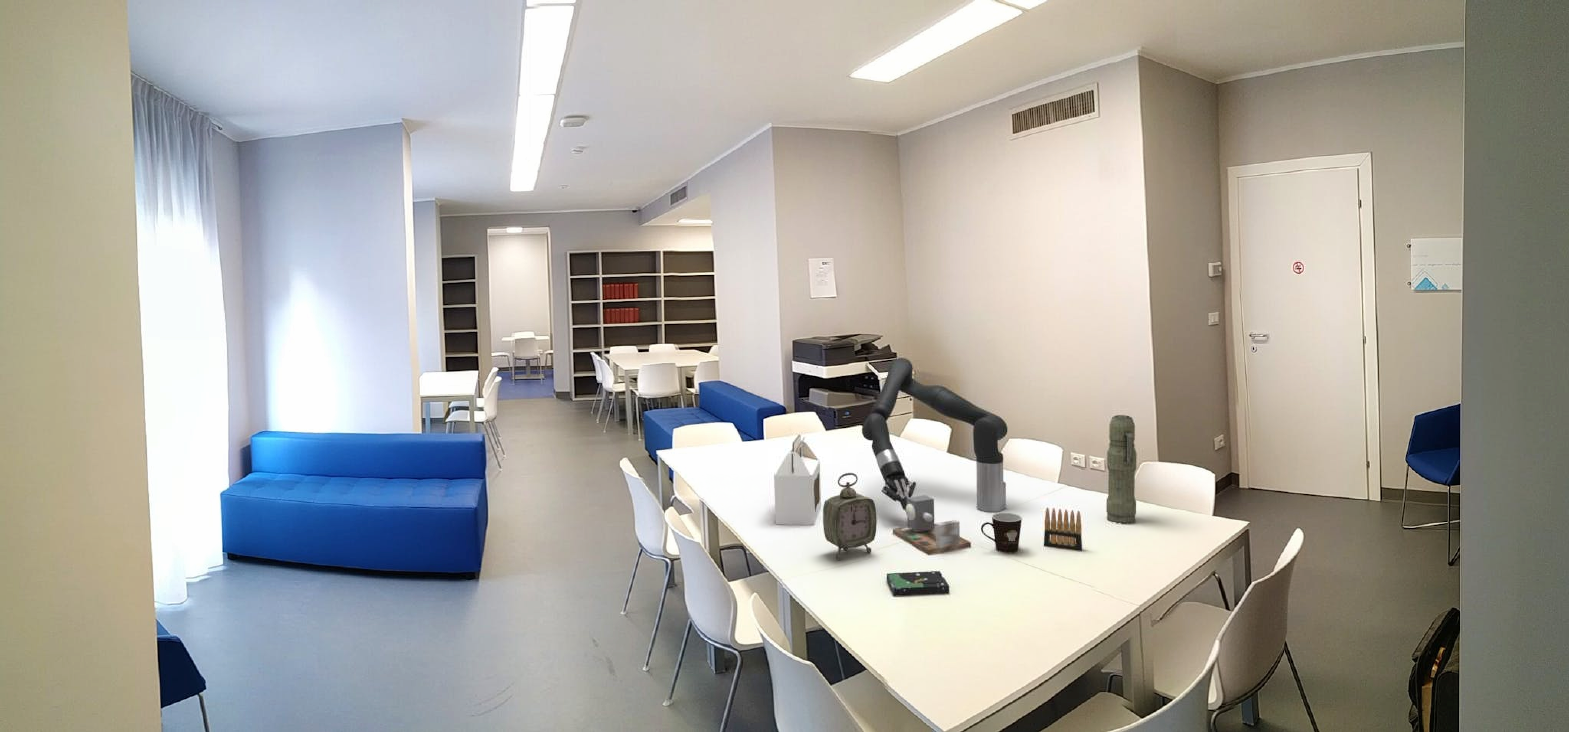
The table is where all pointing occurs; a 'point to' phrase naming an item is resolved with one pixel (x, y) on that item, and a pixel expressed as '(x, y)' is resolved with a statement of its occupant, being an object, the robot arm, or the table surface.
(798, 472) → the gable box
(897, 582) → the disk drive
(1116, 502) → the thermos
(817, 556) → the table surface
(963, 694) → the table surface
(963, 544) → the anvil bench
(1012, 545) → the coffee mug
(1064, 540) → the ammunition clip
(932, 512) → the block
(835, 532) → the tabletop clock
